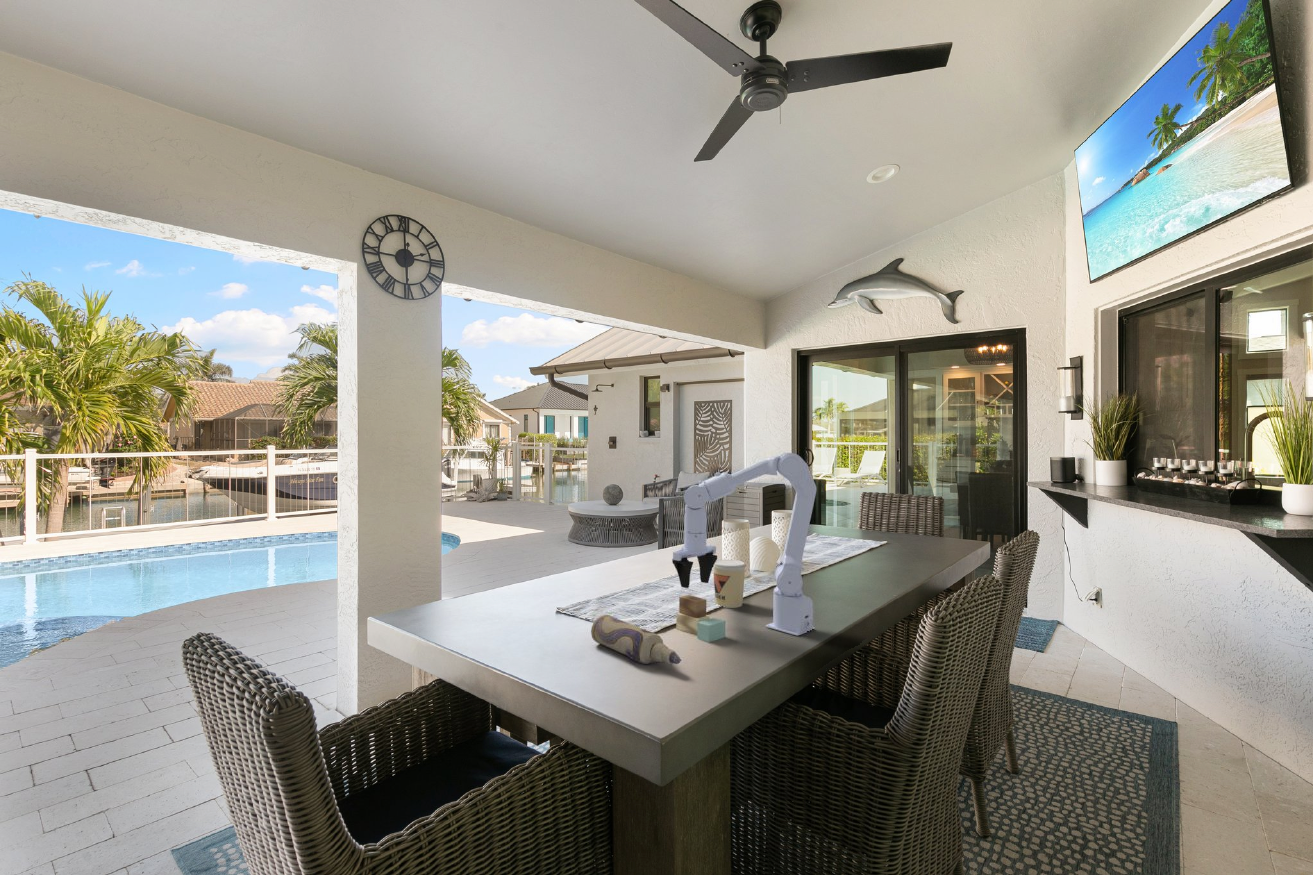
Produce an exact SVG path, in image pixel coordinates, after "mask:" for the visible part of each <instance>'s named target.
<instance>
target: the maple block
mask: <svg viewBox="0 0 1313 875" xmlns="http://www.w3.org/2000/svg"><path fill="white" fill-rule="evenodd" d="M675 618H676V620H675V621H676V627H675V628H676V630H678V631H681V632H685V633H688V634H691V635H695V636H697V633H698V622H701V621H704V620H708V619H711V616H710V615H709V614H706V616H704V617H700V618H693V617H690V616H687V615H684V614H681V613H679V612H678V613H676V616H675Z"/></svg>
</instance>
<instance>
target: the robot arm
mask: <svg viewBox="0 0 1313 875" xmlns="http://www.w3.org/2000/svg"><path fill="white" fill-rule="evenodd" d="M778 473H779V474H780V475H781V476H782V477H783V478H784V479H786V480H787V481H789V483H790V485H791V486H792V487H793V489H794V490H795V497H794V501H793V505H792V510H791V516H790V520H789V525H788V530H787V534H786V539H785V540H786V541H785V545H784V548H783V552H782V554H781V558H780V561H779V564H778V565H777V566H776V567H775V570H774V574H773V576H774V579H775V581H776V587H774V588H773V589H772V590H773V591H772V592H773V594H772V595H773V597H772V598H773V599H772V601H773V602H772V603H773V604H772V605H773V606H772V608H773V609H772V611H773V613H772V614H773V615H772V617H773V618H772V622H771V623H768V624H765V627H766V628H768V629H772V630H775V631H780V632H783V633H787V634H789V635H794V636H800V635H803V634H805V633H808V632H807V631H809V632H810V630H811V631H813V630H812V629H814V630H815V626H814V602H813V600H812V598H810V597H809V596H806V595H805V594H803V593H804V592H803V589H802V588H803V585H804V581H803V578H802V570H803V556H804V552H805V548H806V542H807V536H808V532H809V527H810V522H811V519H812V514H813V509H814V506H815V505H814V503H815V500H816V499H815V498H816V494H817V485H816V483H815V480H814V478H813V476H812V473H811V471H810V467H809V465H808V464H807V462H806V461H805V460H804V459H803V458H802V457H801V456H800V455H798V454H796V453H792V452H784V453H781V454H780V455H773V456H771V457H768V458H764V459H762V460H760V461H757V462H755V463H753V464H751V465H749V466H747V467H745V468H743V469H741V470H739V471H735V472H734V473H732V474H729V473H727V472H725V471H723V472H722V473H721V472H720V471H718V472H715V474H714V476H712V477H709V478H707V479H705V480H702V479H700V480H699V481H698V482H697V483H698V484H693V485H691V486H689V487H688V488H687V489H686V490H685V491H684V494H683V501H684V503H685V506H684V517H683V518H684V523H683V524H684V525H683V526H684V528H683V532H684V533H683V534H684V535H683V537H684V538H683V539H684V540H683V547H681V549H679V550H677V551H672V559H671V560H672V562H671V563H672V564H673V566H674V568H675V570H676V572H677V575H678V578H679V579H678V580H679V583H680V587H681V588H685V589H689V587H690V582H691V581H690V580H691V574H692V573H691V571H692V568H693V565H694V561H690V560H689V559H691V558H697V562H698V565H699V579H700V583H704V584H709V582H710V577H711V574H712V572H713V568H714V567H713V566H714V564H715V562H716V561H717V560H718V555H716V554H717V546H716V545H711V544H710V545H707V526H708V525H707V518H708V517H707V512H706V511H707V509H706V508H707V507H706V505H707V503H708V502H709V503H712V502H714V501H717V500H719V499H721V498H724V497H727V496H729V495H732V494H733V493H734V492H735V490H736V487H737V486H739V485H741V484H743V483H744V484H745V483H746V482H749V481H752V480H754V479H757V478H760V477H762V476H765V475H769V476H778Z"/></svg>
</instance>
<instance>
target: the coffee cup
mask: <svg viewBox="0 0 1313 875" xmlns="http://www.w3.org/2000/svg"><path fill="white" fill-rule="evenodd" d="M746 567H747V566H746V565H745V562H744V561H742V560H737V559H736V560H735V559H719V560H718V559H717V560H716V562H715V564H714V566H713V568H712V570H713V586H714V587H713V588H714V597H715V598H714V601H715V605H716V604H718V605H720V606H723V607H722V608H725V609H735V608H736V609H737V608H740V607H742V606H743V600H744V589H745V576H746V573H745V572H746ZM720 606H719V607H720Z"/></svg>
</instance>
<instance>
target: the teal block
mask: <svg viewBox="0 0 1313 875" xmlns="http://www.w3.org/2000/svg"><path fill="white" fill-rule="evenodd" d="M696 636H697V637H696V638H697V639H698V640H700V641H703V642H706V643H710V642H714V641H717V640H720V639H723V638H726V620H724V619H721V618H717V617H712V618H711V617H710V619H708V620H704V621H701V622H698V633H697V635H696Z"/></svg>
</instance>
